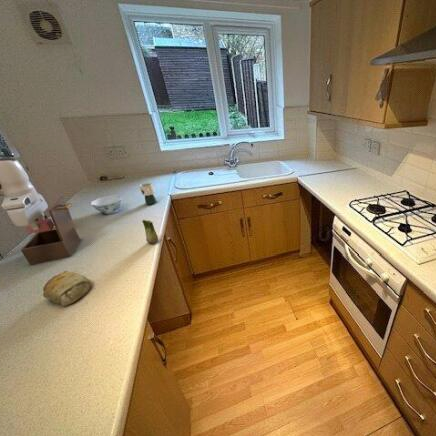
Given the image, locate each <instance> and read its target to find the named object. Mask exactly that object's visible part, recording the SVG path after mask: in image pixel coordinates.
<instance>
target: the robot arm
mask: <svg viewBox="0 0 436 436" xmlns="http://www.w3.org/2000/svg"><path fill="white" fill-rule="evenodd" d="M0 192H1V193H2V194H3V201H2V203H1V208H2V209H3V210H5V211H6V214H7V216H8V217H9V218H10V220H11V221H12V223H13V224H14V225H15V226H16V227H18V228H23V227H25V226H31V227H32V228H33V230H39V229H40V226H39V225H37V224H36V223H35V222H36V221H35V220H36V219H37V218H38V221H39V220H45V219H44V215H45V214H44V212H45V211H46V210H47V209H48V208H49V206H48V203H47V201H46V199H45V198H44V197H43V195H42V194H41V193H39V192H38V191H37V189H36V188H35V185H33V184H32V183H31V181H30V178H29V175H28V174H27V172H26V170H25V168H24V167H23V166H22V164H21V163H20V162H19V161H18V160H17V159H16V158H14V157H10V156H4V155H2V156H1V155H0Z"/></svg>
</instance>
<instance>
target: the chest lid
mask: <svg viewBox="0 0 436 436" xmlns="http://www.w3.org/2000/svg"><path fill="white" fill-rule="evenodd" d="M72 206H73V205H72V203H71V202H67V201H66V199H65V196H61V197H60V198H59V199H58V200H57V201H56V202H55V203H54V204H53V205H52V206H51V207H50V208H49V209H48V213H49V216H50V219H51V220H52V222H53V224H54V228H55V229H56V231H57V233H58V235H59V238H60V240H61V241H63V240H64V239H65V237H66V236H67V235H68V233H69V232H70V230H71V229H72V227H73V226H74V227H75V223H74V220H73V218H72V215H71V213H70V210H69V209H70V208H71V207H72Z"/></svg>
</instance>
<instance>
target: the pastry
mask: <svg viewBox="0 0 436 436" xmlns="http://www.w3.org/2000/svg"><path fill="white" fill-rule="evenodd" d="M90 285H91V280H90V279H89V278H88V277H86V276H85V275H82V274H80V273H79V272H76V271H70V270H69V271H68V270H64V271H63V272H61V273H59V274H57V275H54V276H53V277H52V278H50V279H48V281H47V282H46V283H45V284H44V286H43V287H42V291H43V292H42V297H44V299H45V298H46V299H48V300H49V301H51V302H52V303H54V304H58V305H61V306H62V307H68V306H69V305H72V304H74V303H75V302H76V301H78V300H79V299H81V298H83V296H84V295H86V294H87V293H88V292H89V291H90V289H91V287H90Z"/></svg>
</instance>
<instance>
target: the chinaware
mask: <svg viewBox="0 0 436 436" xmlns="http://www.w3.org/2000/svg"><path fill="white" fill-rule="evenodd" d="M122 199H123V198H122V196H121V195H107V196H102V197H99V198H97V199H94V200H92V201H91V203H90V204H91V206H92V207H93V208H94V209H95V210H96V211H98V212H100V213H103V214H104V215H111V214H115V213H117V212H118V210H119V208H121V205H122Z"/></svg>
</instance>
